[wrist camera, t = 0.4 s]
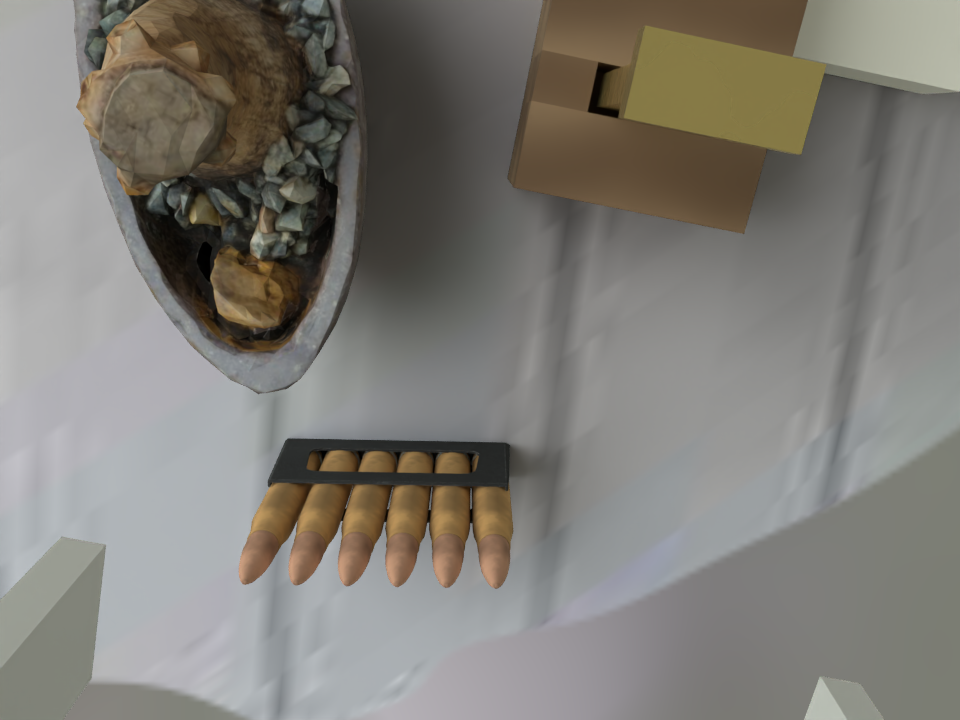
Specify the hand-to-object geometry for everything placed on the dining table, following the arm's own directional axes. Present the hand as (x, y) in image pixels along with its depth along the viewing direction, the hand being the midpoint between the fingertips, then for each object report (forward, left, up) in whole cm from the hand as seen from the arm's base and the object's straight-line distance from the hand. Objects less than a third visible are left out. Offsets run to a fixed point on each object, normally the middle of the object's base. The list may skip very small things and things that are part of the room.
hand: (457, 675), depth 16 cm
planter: (-9, -10, -26) cm, 29 cm away
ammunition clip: (+6, -2, -26) cm, 27 cm away
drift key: (-12, +5, -21) cm, 24 cm away
